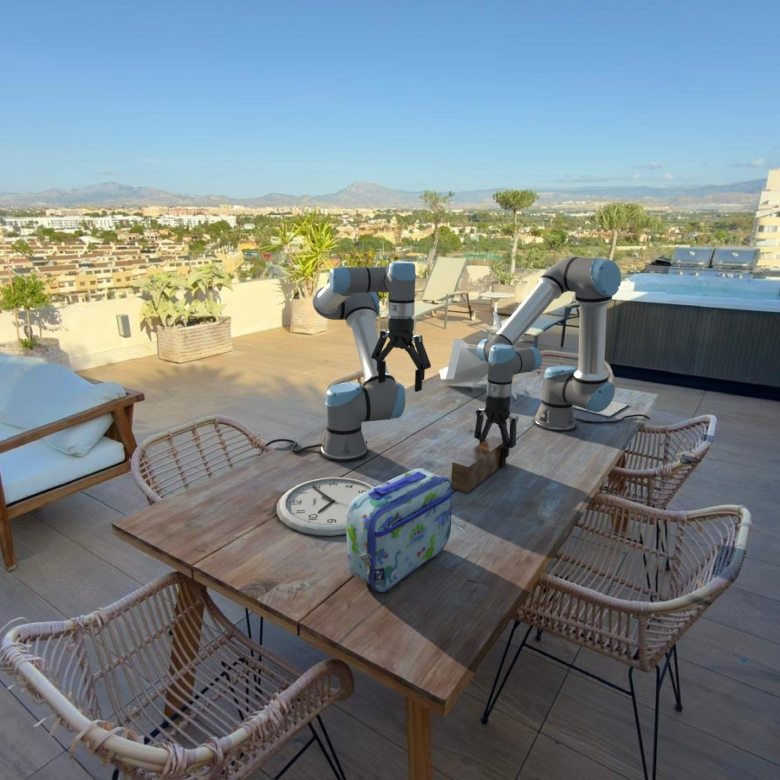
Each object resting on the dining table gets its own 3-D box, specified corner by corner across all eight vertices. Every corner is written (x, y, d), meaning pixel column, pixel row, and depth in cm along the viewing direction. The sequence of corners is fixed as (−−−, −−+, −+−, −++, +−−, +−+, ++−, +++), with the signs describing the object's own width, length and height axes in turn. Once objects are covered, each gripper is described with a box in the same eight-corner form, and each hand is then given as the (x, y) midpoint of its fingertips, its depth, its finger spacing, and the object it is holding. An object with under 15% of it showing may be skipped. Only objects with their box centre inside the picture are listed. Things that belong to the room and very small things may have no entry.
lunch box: (374, 604, 105) (375, 512, 99) (340, 579, 113) (339, 492, 106) (455, 552, 123) (460, 471, 117) (421, 533, 130) (424, 456, 124)
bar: (490, 458, 174) (492, 435, 171) (505, 462, 171) (507, 439, 168) (450, 487, 154) (452, 462, 151) (466, 492, 151) (468, 467, 148)
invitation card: (608, 416, 214) (573, 407, 224) (608, 416, 214) (573, 408, 224) (628, 404, 229) (594, 396, 238) (628, 405, 229) (594, 397, 238)
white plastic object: (461, 429, 252) (437, 405, 227) (444, 352, 274) (420, 323, 250) (535, 404, 240) (518, 377, 215) (510, 326, 262) (492, 293, 237)
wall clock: (392, 527, 129) (268, 531, 127) (391, 533, 130) (269, 537, 127) (383, 473, 158) (282, 475, 155) (383, 478, 158) (282, 480, 156)
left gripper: (360, 313, 156) (360, 381, 163) (430, 323, 142) (427, 397, 148) (375, 310, 162) (375, 376, 168) (444, 319, 148) (441, 391, 154)
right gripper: (465, 391, 165) (461, 458, 172) (522, 404, 154) (515, 475, 161) (476, 386, 171) (472, 451, 178) (532, 398, 160) (525, 466, 167)
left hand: (399, 386), depth 158 cm, fingers open, 13 cm apart
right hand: (492, 462), depth 169 cm, fingers open, 6 cm apart
